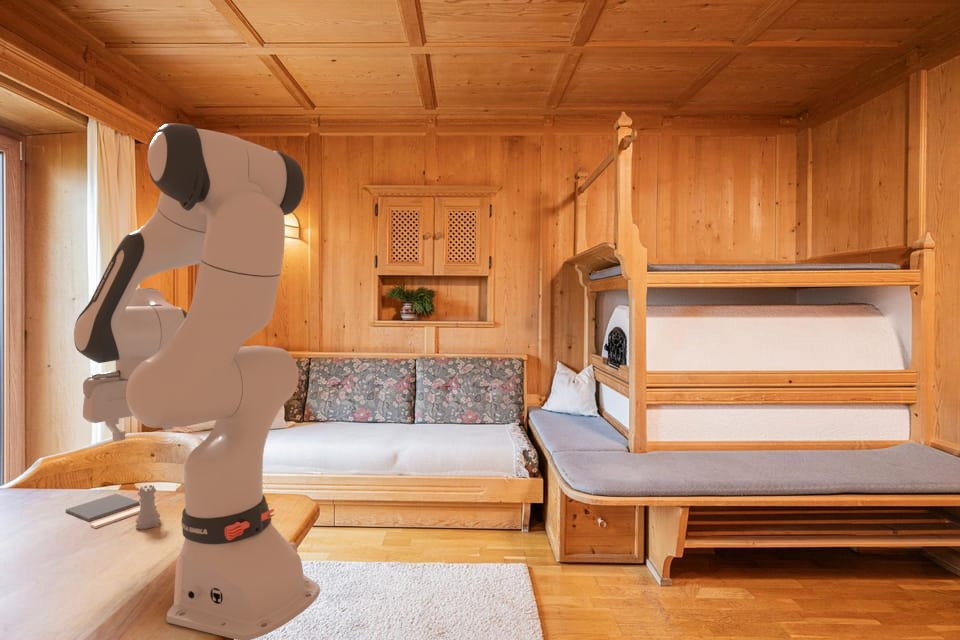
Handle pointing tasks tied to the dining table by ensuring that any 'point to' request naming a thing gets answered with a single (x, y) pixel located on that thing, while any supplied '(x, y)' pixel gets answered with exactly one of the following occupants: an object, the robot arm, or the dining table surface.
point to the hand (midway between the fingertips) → (144, 434)
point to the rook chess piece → (147, 509)
